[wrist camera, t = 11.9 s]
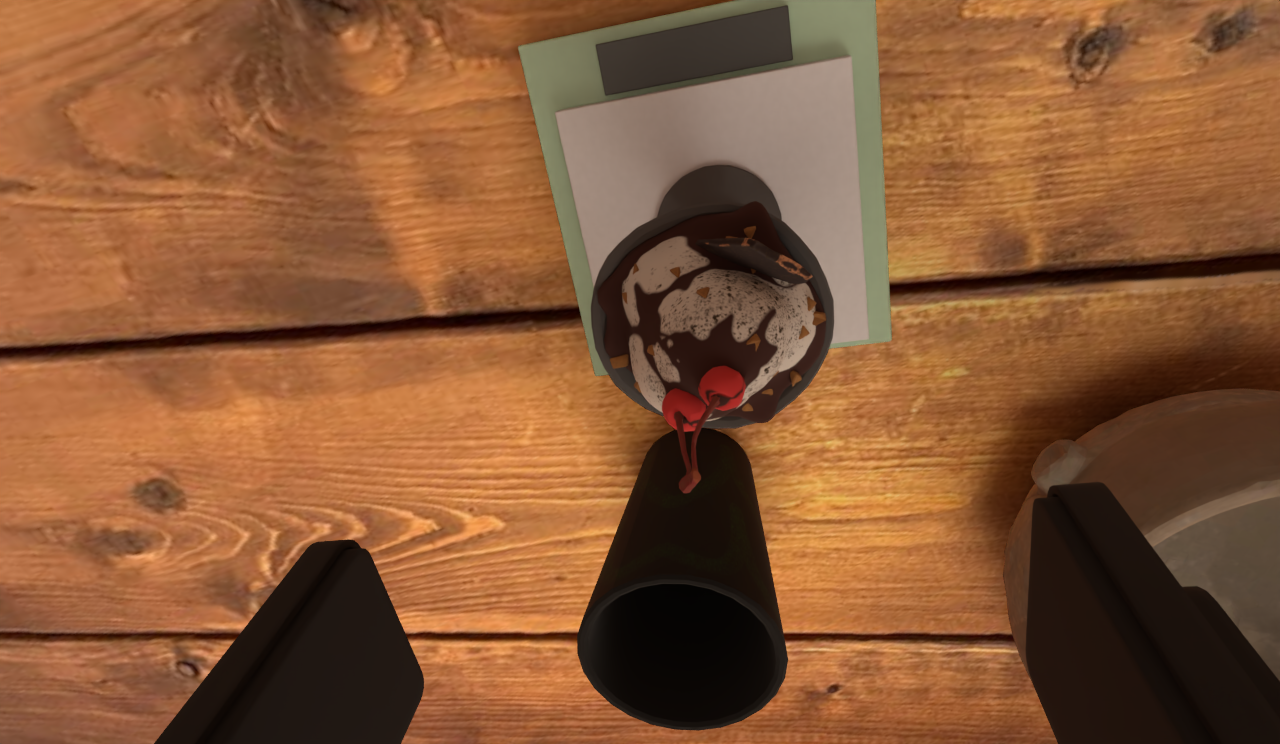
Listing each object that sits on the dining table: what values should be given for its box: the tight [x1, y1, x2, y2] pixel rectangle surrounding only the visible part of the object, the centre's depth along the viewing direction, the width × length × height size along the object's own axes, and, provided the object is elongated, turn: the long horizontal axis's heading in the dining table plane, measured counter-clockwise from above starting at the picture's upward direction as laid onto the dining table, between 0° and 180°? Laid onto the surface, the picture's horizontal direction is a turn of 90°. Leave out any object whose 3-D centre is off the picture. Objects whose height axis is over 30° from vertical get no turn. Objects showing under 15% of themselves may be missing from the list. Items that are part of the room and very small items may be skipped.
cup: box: [577, 428, 788, 730], centre depth 32 cm, size 8×8×12 cm
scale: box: [518, 0, 892, 376], centre depth 30 cm, size 14×13×3 cm
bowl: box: [1003, 388, 1280, 681], centre depth 31 cm, size 17×18×10 cm
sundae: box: [591, 165, 834, 493], centre depth 23 cm, size 7×7×15 cm
